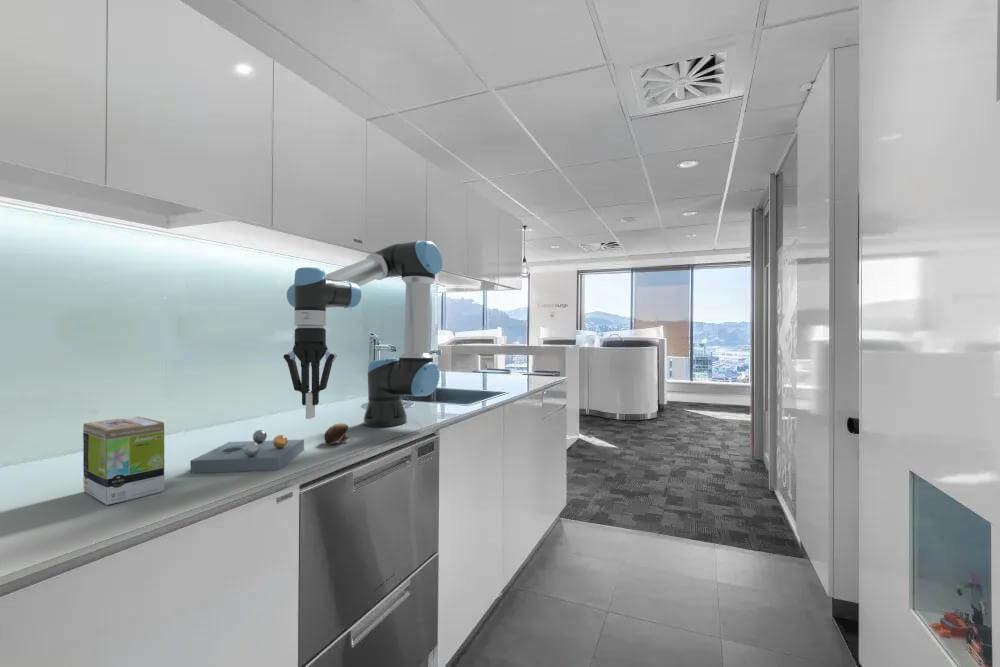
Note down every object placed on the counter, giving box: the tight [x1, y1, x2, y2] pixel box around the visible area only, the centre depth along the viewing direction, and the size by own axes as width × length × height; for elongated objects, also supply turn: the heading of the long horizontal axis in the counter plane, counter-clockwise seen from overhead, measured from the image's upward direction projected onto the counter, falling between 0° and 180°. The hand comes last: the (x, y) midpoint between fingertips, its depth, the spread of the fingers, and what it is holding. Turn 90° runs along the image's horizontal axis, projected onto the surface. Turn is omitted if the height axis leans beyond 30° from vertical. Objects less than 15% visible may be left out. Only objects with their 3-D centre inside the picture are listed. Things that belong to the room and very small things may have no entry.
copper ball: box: [273, 434, 288, 448], centre depth 116 cm, size 3×3×3 cm
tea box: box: [82, 416, 166, 506], centre depth 94 cm, size 15×10×15 cm, turn 56°
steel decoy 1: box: [244, 442, 260, 457], centre depth 109 cm, size 3×3×3 cm
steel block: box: [252, 429, 268, 443], centre depth 123 cm, size 3×3×3 cm
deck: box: [189, 439, 305, 474], centre depth 116 cm, size 20×18×3 cm
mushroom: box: [323, 423, 350, 445], centre depth 133 cm, size 8×8×6 cm
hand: (310, 417), depth 117 cm, fingers closed
